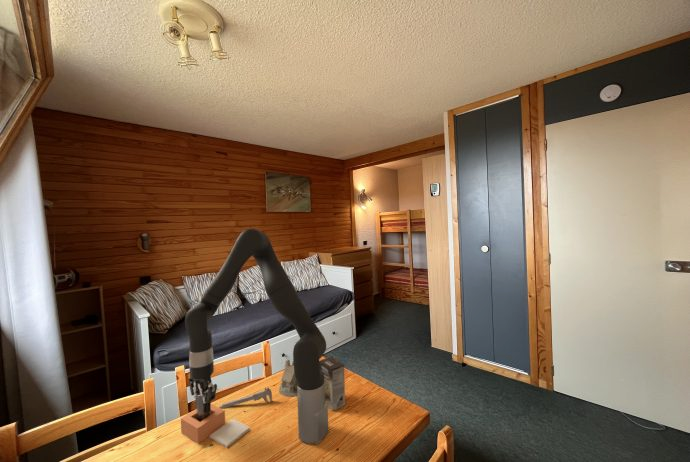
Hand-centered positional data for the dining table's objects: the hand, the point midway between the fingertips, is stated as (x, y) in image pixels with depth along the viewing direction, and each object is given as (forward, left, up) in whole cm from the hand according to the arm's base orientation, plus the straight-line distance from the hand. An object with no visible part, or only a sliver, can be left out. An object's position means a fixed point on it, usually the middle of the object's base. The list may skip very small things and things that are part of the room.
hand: (203, 409), depth 95 cm
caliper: (-2, -16, -7) cm, 18 cm away
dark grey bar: (0, 0, -6) cm, 6 cm away
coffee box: (-32, -33, -7) cm, 47 cm away
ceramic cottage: (-14, -35, -7) cm, 39 cm away
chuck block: (0, 0, -7) cm, 7 cm away
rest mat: (-10, -3, -7) cm, 13 cm away
